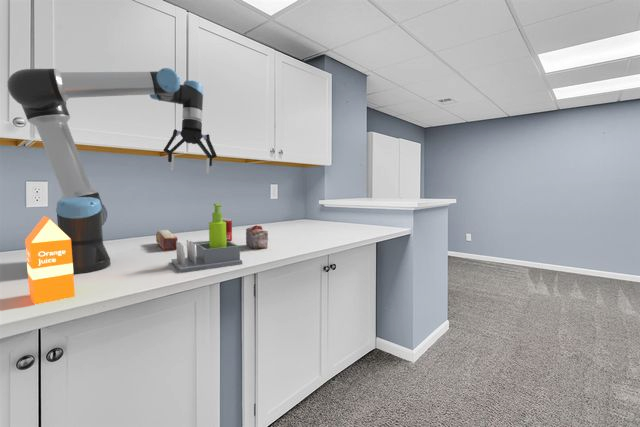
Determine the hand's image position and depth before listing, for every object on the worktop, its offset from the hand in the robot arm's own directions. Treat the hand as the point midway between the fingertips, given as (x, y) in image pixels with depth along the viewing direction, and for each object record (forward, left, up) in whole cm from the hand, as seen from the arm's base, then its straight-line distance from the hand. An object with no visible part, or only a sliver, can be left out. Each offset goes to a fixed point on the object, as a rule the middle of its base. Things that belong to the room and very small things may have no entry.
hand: (190, 172), depth 131 cm
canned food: (+18, +17, -33) cm, 41 cm away
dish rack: (-1, -24, -33) cm, 41 cm away
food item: (+26, -6, -33) cm, 43 cm away
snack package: (-7, +16, -33) cm, 38 cm away
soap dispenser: (+4, -25, -32) cm, 40 cm away
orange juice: (-42, -37, -33) cm, 65 cm away
